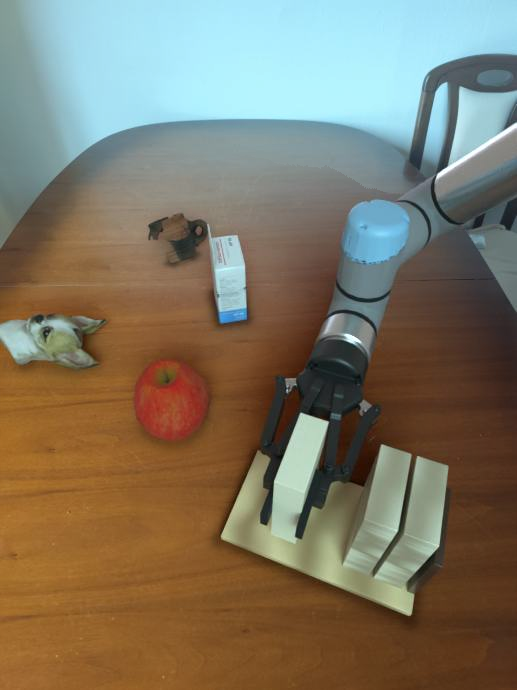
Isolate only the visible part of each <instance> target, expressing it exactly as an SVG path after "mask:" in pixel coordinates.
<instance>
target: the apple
mask: <svg viewBox="0 0 517 690" xmlns="http://www.w3.org/2000/svg"><path fill="white" fill-rule="evenodd" d="M134 387H135V388H134V391H133V407H134V413H135V418H136V420H137V422H138V423H139V425H140V426H141V428H142V429H143V430H144V431H145V432H147V433H148V434H149V435H151V436H152V437H154V438H156V439H159V440H161V441H166V442H167V441H168V442H175V441H180V440H185V439H187V438H189V437H190V436H192V434H194V433H196V432H197V431H198V430H199V429H200V428H201V426H202V425H203V423H204V422H205V419H206V417H207V415H208V412H209V408H210V404H211V397H210V396H211V395H210V394H211V393H210V385H208V383H207V380H206V379H205V378H204V376H203V375H202V374H200V372H198V371H197V370H196V369H195V368H193V367H192V366H190V365H188V364H187V363H185V362H183V361H181V360H178V359H172V358H170V359H169V358H166V359H162V360H156V361H154V362H152V363H150V364H149V365H147V367H146V368H145V369H144V370H143V371H142V373H141V374H140V375H139V377H138V379H137V380H136V383H135V386H134Z"/></svg>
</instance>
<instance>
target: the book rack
mask: <svg viewBox="0 0 517 690" xmlns="http://www.w3.org/2000/svg"><path fill="white" fill-rule="evenodd" d="M412 456H413V455H412V453H410V452H407V451H404V450H401V449H398V448H394V447H392V446H388V445H386V444H382V443H381V444H380V446H379V449H378V451H377V453H376V456H375V458H374V461H373V464H372V466H371V468H370V471H369V473H368V476H367V478H366V480H365V482H364V485H363V486H362V485H359V484H356V483H353V482H350V481H349V482H348V483H345V484H344V483H342V482H340V481H335V482H333V483H332V484H331V485H330V488H329V491H328V495H327V498H326V502H325V505H324V507H323V508H322V509H318V508H315V507H313V506H312V509H311V512H310V515H309V518H308V522H307V525H306V528H305V531H304V534H303V538H302V540H301V539H298V538H297V540H296V544H294V543H291V542H289V541H286V540H284V539H281V538H279V537H276V536H274V535H271V521H272V514H271V516H270V519H269V522H268V525H267V526H265V525H263V524H260V513H261V510H262V507H263V505H264V502H265V500H266V497H267V495H268V492H269V490H267V489H265V488H263V477H264V474H265V472H266V469H267V467H268V464H269V462H270V458H269V457H268V456H267V455H263V454H262V453H261V451H260V450H259V449H258V450H257V451H256V454H255V455H254V458H253V460H252V462H251V465H250V467H249V469H248V471H247V475H246V477H245V479H244V481H243V483H242V486H241V488H240V491H239V493H238V495H237V497H236V499H235V502H234V504H233V507H232V509H231V512H230V513H229V516H228V518H227V521H226V523H225V525H224V528H223V530H222V532H221V534H220V539H221V540H222V541H224V542H228V543H230V544H232V545H235V546H236V547H240V548H242V549H244V550H247V551H249V552H252V553H254V554H256V555H259V556H262V557H264V558H266V559H269V560H271V561H274V562H276V563H278V564H282V565H283V566H285V567H288V568H290V569H293V570H296V571H298V572H301V573H302V574H305V575H308V576H310V577H312V578H315V579H317V580H320V581H322V582H324V583H327V584H329V585H331V586H335V587H337V588H339V589H342V590H344V591H346V592H349V593H352V594H354V595H356V596H359V597H361V598H364V599H366V600H369V601H370V602H373V603H376V604H378V605H381V606H383V607H385V608H388V609H390V610H393V611H396V612H397V613H401V614H402V615H405V616H408V617H410V616H412V615H413V607H414V600H415V595H416V594H417V593H418V592H419V591H420V590H421V589H422V588H423V587H424V586H425V585H426V584H427V583H428V582H429V581H431V579H432V578H434V576H436V575H437V574H438V573H439V572H440V571H441V570H442V569H443V568H444V562H445V552H446V544H447V543H446V542H447V533H448V525H449V516H450V505H451V499H452V498H451V497H452V488H450V487H447V484H448V476H449V475H448V473H449V465H447V464H444V463H441V462H438V461H434V460H433V459H432V460H431V459H429V458H426V457H422V456H420V455H417V456H416V457H415V459H414V461H413V463H412V464H411V460H412Z"/></svg>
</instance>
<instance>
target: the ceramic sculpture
mask: <svg viewBox="0 0 517 690" xmlns="http://www.w3.org/2000/svg"><path fill="white" fill-rule="evenodd" d="M107 322H108V319H107V318H100V319H95V318H92V317H87V316H83V315H67V314H65V313H61V314H57V313H50V314H42V313H35V314H34V315H32V316H30V317H29V318H28V319H10V320H7V321H4V322H2V323H0V342H1V344H2V345H3V346H4V348H5V349H7V350H8V352H9V353H10V355H11V356H12V358H13V360H14V362H15V363H16V364H18V365H21V366H22V365H23V366H25V365H27V364H29V363H30V362H31V361H48V362H53V363H55V364H56V365H59V366H62V367H64V368H67V369H71V370H73V371H80V370H86V369H90V368H94V367H96V366H99V365H101V362H100V361H98V360H96V359H95V358H94V357H93V356H92V355H91V354H90V353H88V351H86V350H84V349H83V348H82V346H83V343H84V339H83V338H84V337H83V336H87V335H88V336H89V335H91V334H93V333H95V332H96V331H98V330H99V329H100V328H102V327H103V326H104V325H105V324H106V323H107Z"/></svg>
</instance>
